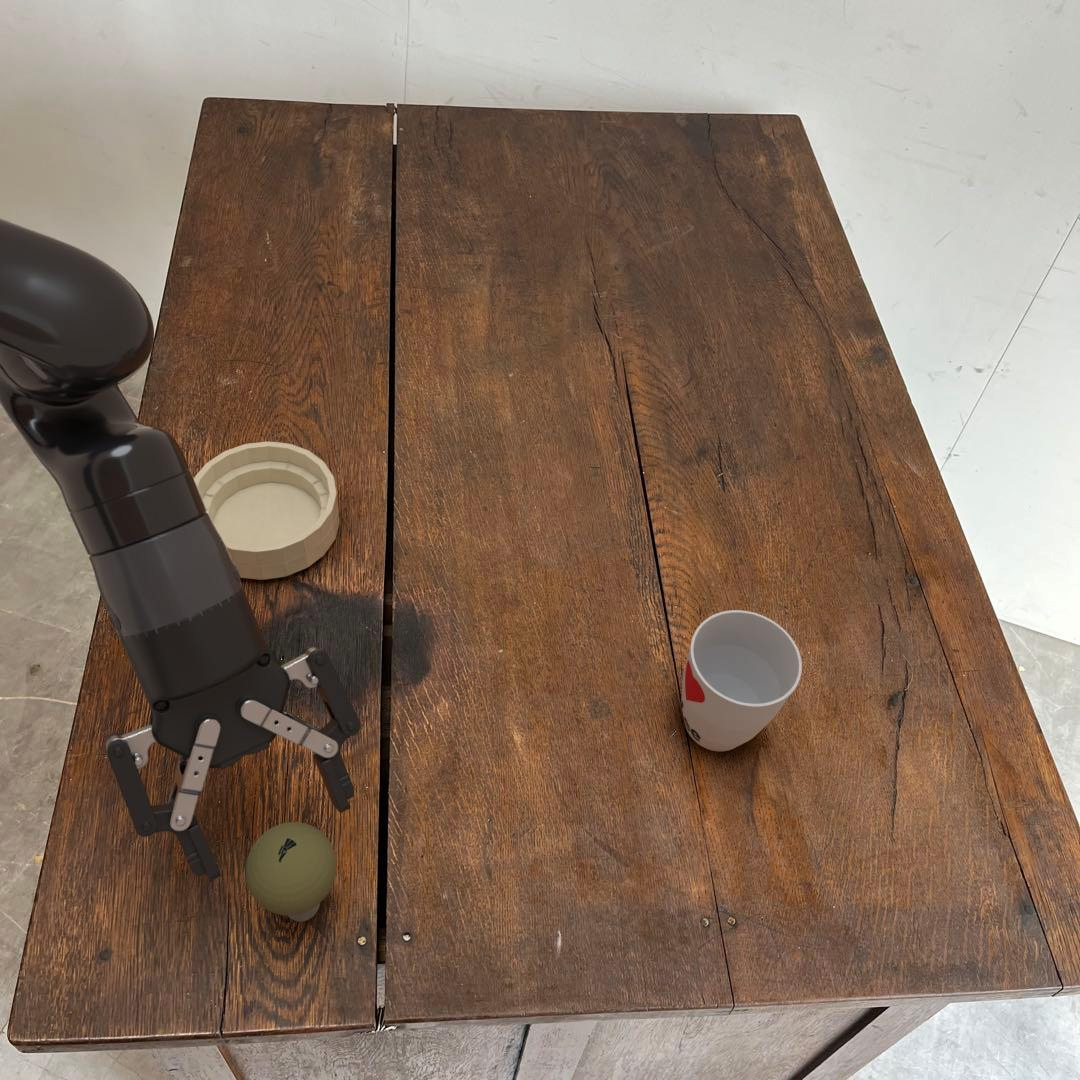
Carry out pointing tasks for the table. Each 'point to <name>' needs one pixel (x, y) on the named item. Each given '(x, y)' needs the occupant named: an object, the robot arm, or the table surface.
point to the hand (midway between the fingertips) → (279, 840)
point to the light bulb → (291, 870)
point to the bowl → (270, 507)
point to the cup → (736, 678)
